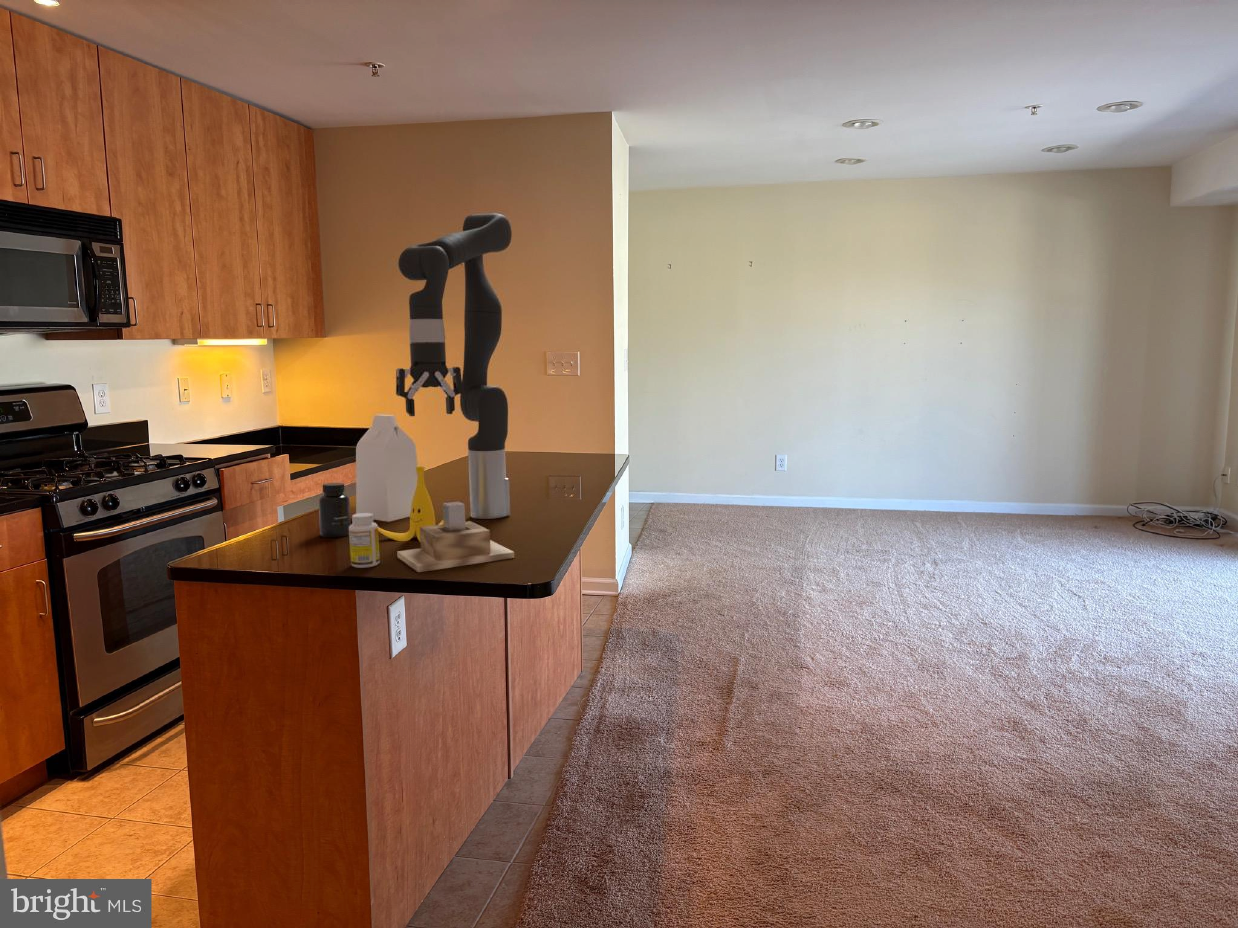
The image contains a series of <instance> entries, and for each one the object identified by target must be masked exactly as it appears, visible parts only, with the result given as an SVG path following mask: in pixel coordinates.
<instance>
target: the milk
mask: <svg viewBox="0 0 1238 928" xmlns="http://www.w3.org/2000/svg"><path fill="white" fill-rule="evenodd" d="M398 425H399V424H398V422H397V418H396V416H395V415H393V414H374V416H373V419H372V423H371V426H370V427H369V428H368V430H367V431H366V432H365V433H364V434H363V435H362V437H360V439H359V441H358V442H357V444H356V447H355V479H356V481H355V490H356V491H355V492H356V493H355V494H356V495H355V497H356V498H355V506H356V508H355V509H356V510H355V511H356V512H355V514H358V513H371V514H373V521H374V520H376V521H381V522H393V521H397V520H400V519H402V520H403V519H404V518H405V519H406V518H410V512H411V505H412V500H413V496H414V493H415V490H416V487H417V471H416V467H417V466H419V465H418V458H417V447H416V443H415V441H414V440H413V439H412V438H411V437H410V436H409V435H408V434H407V433H406V432H405V431H404V430H403V429H402V428H401V427H400V426H398Z"/></svg>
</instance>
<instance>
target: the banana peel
mask: <svg viewBox="0 0 1238 928" xmlns="http://www.w3.org/2000/svg"><path fill="white" fill-rule="evenodd" d="M416 471H417V487H416V490H415V493H414V496H413V500H412V505H411V512H410V517H409V530H408V531H406V532H401V533H400V532H393V531H389V530H385V529H383V528H381V527H379V526H378V533H380V534H382V535H383V536H385V537H387V538H389V539H391V540H394V541H398V542H408V541H410V540H411V539H413V538H414V536H415V535H416V537H417V540H418V542H419V543H420V527H426V526H434V525H443V519H442V520H441V521H440V522H439V523H438V524H437V523H436V516H435V515H436V514H435V510H434V507H433V502H432V499H431V497H430V494H429V492H428V489H427V487H426V484H425V477H424V476H425V475H424V474H425V466H424V465H418V466H417V467H416Z"/></svg>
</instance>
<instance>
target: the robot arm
mask: <svg viewBox="0 0 1238 928" xmlns="http://www.w3.org/2000/svg"><path fill="white" fill-rule="evenodd" d="M512 232H513V230H512V227H511V223H510V221H509V219H508V218H507V217H506V216H505V215H503V214H500V213H493V212H492V213H477V214H475V213H474V214H468V216H466V217H465V218H464V221H463V224H462V231H458V232H453V233H449V234H445V235H443V236H441V237H439V238H437V239H435V240H433V241H429V242H424V243H419V244H415V245H412V246H409V247H406V248H405V249H404V250H403V251H402V252H401V254H400V255H399V257H398V265H397V266H398V270H399V272H400V273H401V275H402V276H403V277H405V278H406V279H408V280H410V281H425V284H424V286H423V288H422V289H420V290H417V291H414V292H412V293H411V294H410V295H409V298H408V305H409V307H408V309H409V310H408V311H409V326H408V327H409V331H408V332H409V333H408V334H409V350H410V351H409V353H410V356H409V357H410V367H409V368H408V369H407V368H400V367H399V368H397V369H396V372H395V394H396V396H398V397H402V398H404V400H405V412H406V414H408V416H409V417H415V416H416V411H415V410H416V408H415V399H414V396H415V395H416V394H417V392H418V391H420V389H421V388H423V389H426V388H438V387H439V389H440V390H442V391H443V393H444V394H445V395H446V397H445V412H446V414H447V415H453V412H455V410H456V407H455V406H456V404H455V397H456V396H458V395H460V396H459V406H460V411H461V413H462V416H464V418H465V419H467V420H468V421H471V422H475V423H476V422H478V426H477V428H478V429H477V432H476V433H475V434H474V435H473V436H470V437H469V438H468V440H467V454H468V455H467V456H468V476H469V477H468V478H469V479H468V480H469V483H468V484H469V504H470V508H469V509H470V517H471V518H472V519H479V520H492V519H499V518H504V517H507V516H510V515H511V504H510V480H509V478H508V477H507V475H506V473H507V470H506V468H507V467H506V441H507V438H508V434H509V433H508V432H509V430H508V429H509V402H508V398H507V395H506V393H505V391H504V389H502V388H501V387H499V386H496V385H488V372H489V371H488V369H489V365H490V361H491V360H492V359H491V358H492V356H493V354H494V353H495V350H496V349H497V346H498V343H499V341H500V338H501V335H502V327H503V326H502V322H503V313H502V312H503V308H502V303H501V302H500V300H499V297H498V295H497V294H496V292H495V290H494V288H493V287H492V285H491V283H490V281H489V280H488V277H487V275H486V272H485V266H484V255H486V254H490V253H499V252H503V251H505V250H506V249H507V248H509V246H510V244H511V241H512V237H513V236H512V235H513V233H512ZM462 264H464V282H465V283H464V310H463V311H464V317H463V318H464V321H463V322H464V324H463V327H464V339H463V340H464V346H463V368H462V369H463V370H462V373H461V368H460V367H459V366H451V367H447V364H446V363H447V357H446V356H447V355H446V335H445V334H446V333H445V331H446V330H445V325H444V317H443V316H444V315H443V298H444V293H445V288H446V285H447V280H448V279H447V278H448V277H449V270H451V269H453V268H455V267H458V266H460V265H462ZM448 374H449V375H450V377H451V378H452V387H453V388H452V387H451V386H450V384H449V383H448V381H447V380H446V379H445V378H446V377H447V375H448ZM409 375H410V377H411V378H412V382H411V383H410V385H409V386H408V389H407V390H406V379H407V378H408V376H409Z"/></svg>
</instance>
